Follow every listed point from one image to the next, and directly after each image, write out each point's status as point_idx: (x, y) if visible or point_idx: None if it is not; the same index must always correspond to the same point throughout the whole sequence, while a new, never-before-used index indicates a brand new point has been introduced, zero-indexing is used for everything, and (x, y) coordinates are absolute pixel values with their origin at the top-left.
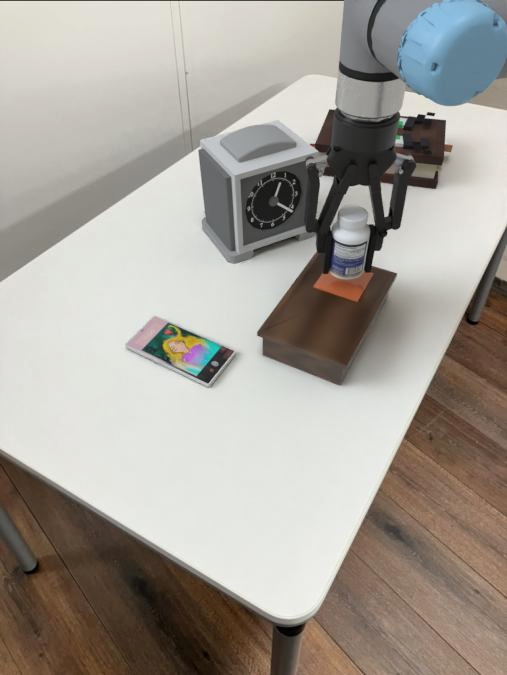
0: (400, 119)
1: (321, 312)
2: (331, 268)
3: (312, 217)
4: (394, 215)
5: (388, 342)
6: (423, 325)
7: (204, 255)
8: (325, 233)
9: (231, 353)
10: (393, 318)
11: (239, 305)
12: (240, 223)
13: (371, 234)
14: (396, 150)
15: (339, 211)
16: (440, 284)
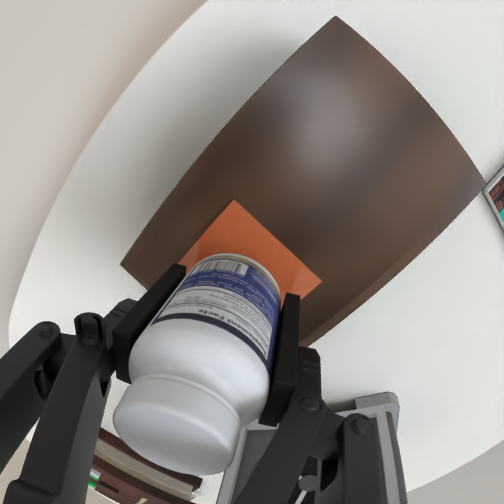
0: (89, 486)
1: (337, 190)
2: (278, 299)
3: (358, 470)
4: (28, 362)
5: (196, 127)
6: (121, 157)
7: (418, 410)
8: (300, 400)
9: (493, 189)
10: (164, 186)
11: (432, 303)
12: (386, 454)
13: (129, 343)
14: (93, 465)
15: (224, 467)
16: (73, 246)
